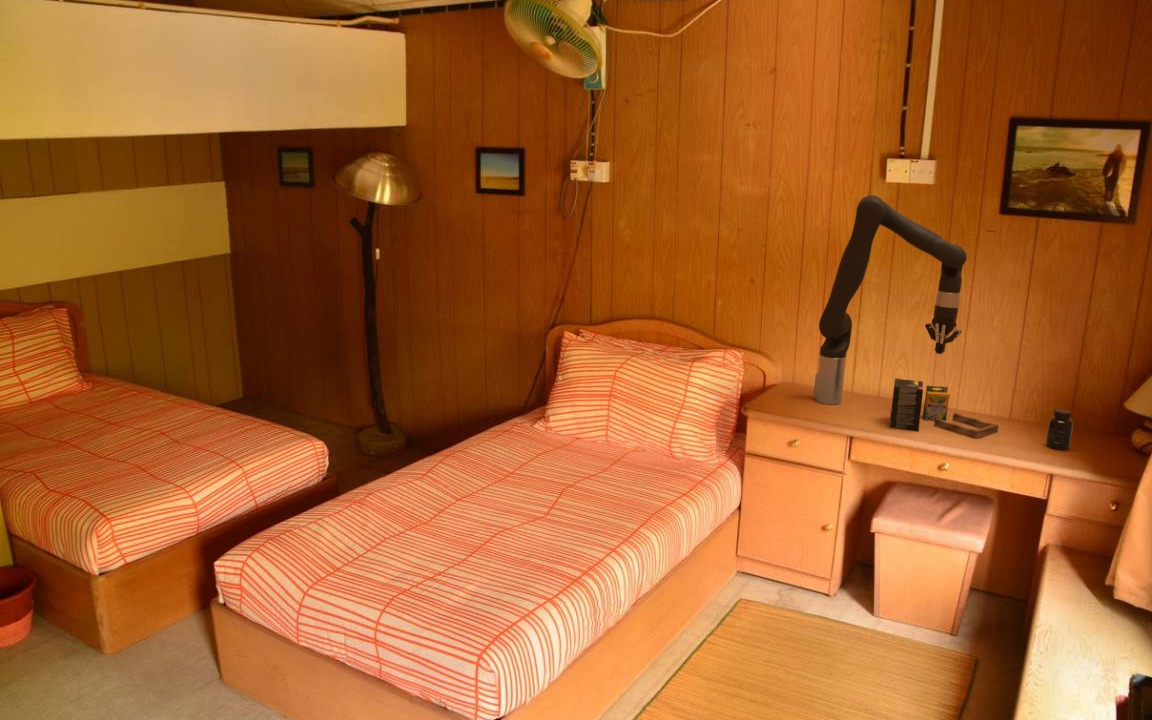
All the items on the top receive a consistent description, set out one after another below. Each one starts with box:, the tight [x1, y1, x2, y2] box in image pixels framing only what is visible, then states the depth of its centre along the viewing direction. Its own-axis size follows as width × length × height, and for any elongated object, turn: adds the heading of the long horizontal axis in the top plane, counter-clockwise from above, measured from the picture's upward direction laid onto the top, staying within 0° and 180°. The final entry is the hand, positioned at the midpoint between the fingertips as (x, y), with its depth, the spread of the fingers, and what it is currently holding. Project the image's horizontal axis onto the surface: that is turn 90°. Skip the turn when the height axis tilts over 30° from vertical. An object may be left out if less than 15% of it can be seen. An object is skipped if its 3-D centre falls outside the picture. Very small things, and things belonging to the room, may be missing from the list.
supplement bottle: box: [1045, 408, 1074, 451], centre depth 291 cm, size 7×7×12 cm
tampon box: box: [889, 378, 924, 432], centre depth 308 cm, size 11×9×15 cm
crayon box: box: [922, 385, 950, 421], centre depth 315 cm, size 7×3×12 cm, turn 83°
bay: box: [933, 412, 999, 440], centre depth 307 cm, size 16×12×2 cm
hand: (939, 353), depth 316 cm, fingers closed
